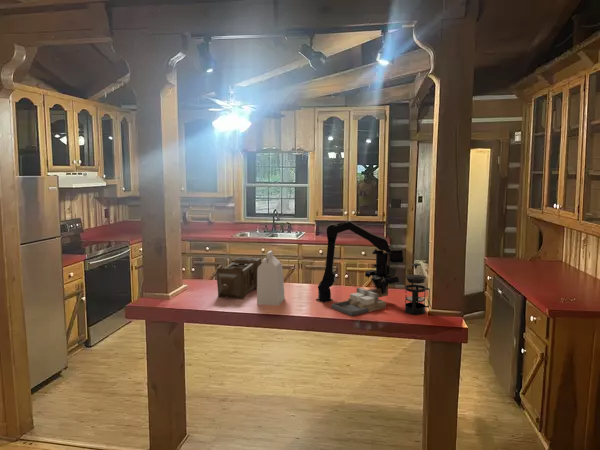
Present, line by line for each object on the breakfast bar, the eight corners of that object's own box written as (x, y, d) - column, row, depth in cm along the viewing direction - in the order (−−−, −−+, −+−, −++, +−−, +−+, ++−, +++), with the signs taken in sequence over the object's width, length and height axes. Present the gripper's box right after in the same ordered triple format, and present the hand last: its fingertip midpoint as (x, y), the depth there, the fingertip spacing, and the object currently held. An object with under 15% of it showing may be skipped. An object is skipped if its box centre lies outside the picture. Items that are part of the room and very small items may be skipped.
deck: (348, 304, 227) (348, 298, 227) (365, 300, 233) (365, 294, 233) (368, 311, 215) (368, 305, 215) (385, 307, 221) (385, 301, 220)
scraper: (356, 295, 229) (356, 287, 229) (376, 291, 237) (376, 284, 236) (375, 302, 218) (375, 294, 217) (396, 298, 225) (396, 290, 225)
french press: (401, 313, 212) (402, 265, 209) (404, 307, 220) (405, 261, 217) (428, 316, 207) (429, 266, 204) (430, 310, 216) (431, 262, 213)
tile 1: (350, 299, 226) (350, 294, 225) (357, 297, 229) (357, 292, 228) (356, 301, 222) (356, 296, 221) (364, 299, 224) (364, 294, 224)
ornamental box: (236, 309, 231) (239, 274, 227) (205, 302, 235) (207, 268, 232) (261, 289, 264) (264, 258, 260) (234, 283, 268) (236, 253, 265)
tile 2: (359, 302, 220) (359, 297, 220) (367, 300, 223) (367, 295, 222) (366, 305, 216) (366, 299, 215) (374, 303, 218) (374, 298, 218)
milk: (279, 305, 227) (277, 254, 224) (256, 304, 230) (255, 253, 226) (284, 298, 239) (283, 249, 235) (263, 297, 241) (262, 249, 238)
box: (331, 308, 222) (331, 304, 222) (348, 304, 227) (348, 300, 227) (351, 316, 209) (351, 312, 209) (368, 312, 215) (368, 307, 215)
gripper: (407, 263, 223) (406, 294, 226) (380, 257, 239) (380, 286, 241) (390, 266, 217) (390, 298, 220) (364, 260, 233) (364, 289, 235)
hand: (381, 293), depth 229 cm, fingers closed on scraper, 2 cm apart
